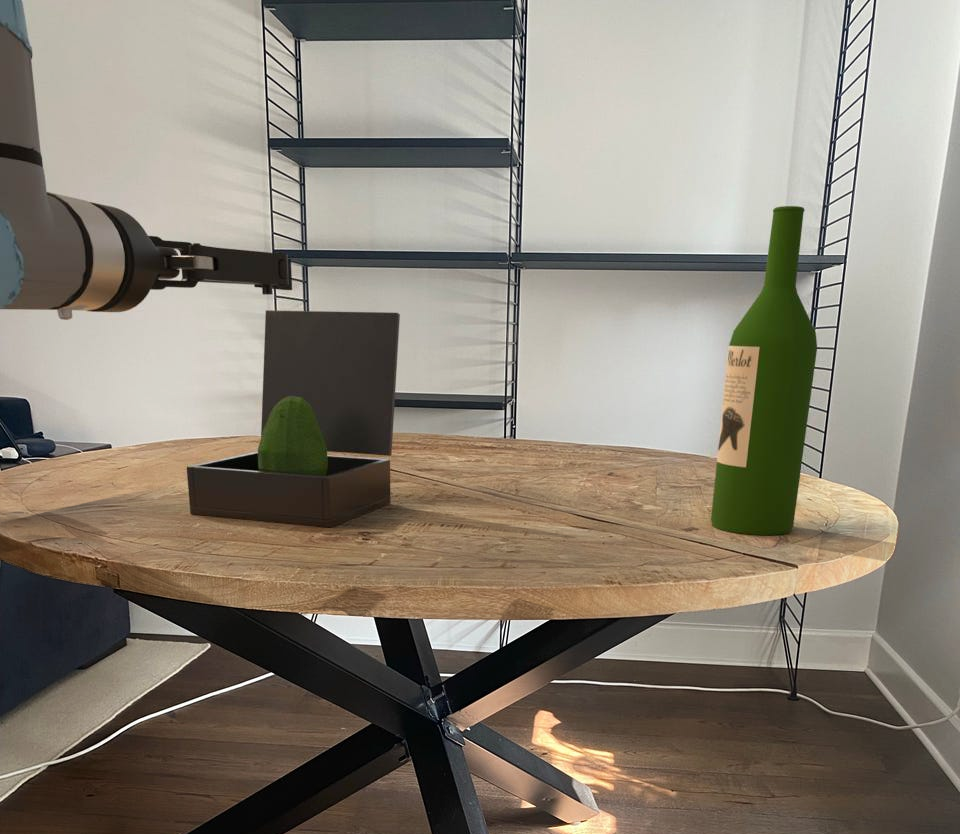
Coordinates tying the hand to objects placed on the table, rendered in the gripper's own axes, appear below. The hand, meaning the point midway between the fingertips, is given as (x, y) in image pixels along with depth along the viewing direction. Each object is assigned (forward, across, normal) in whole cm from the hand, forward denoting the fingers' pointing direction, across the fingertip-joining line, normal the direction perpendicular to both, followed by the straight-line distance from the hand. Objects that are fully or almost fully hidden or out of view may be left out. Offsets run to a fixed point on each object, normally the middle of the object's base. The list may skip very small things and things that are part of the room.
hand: (220, 273), depth 86 cm
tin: (+14, +1, -25) cm, 28 cm away
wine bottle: (+19, +53, -25) cm, 61 cm away
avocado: (+14, +1, -24) cm, 28 cm away
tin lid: (+22, +2, -11) cm, 25 cm away
